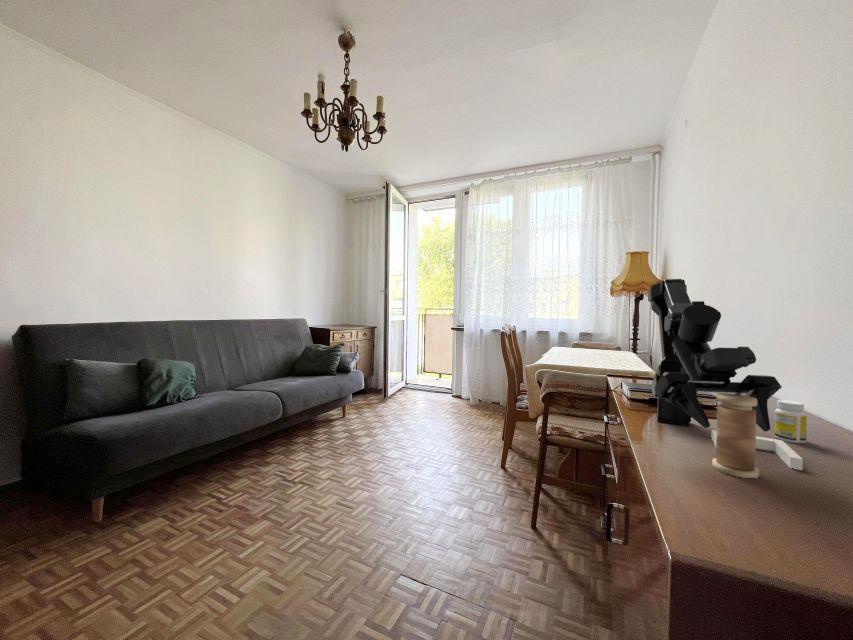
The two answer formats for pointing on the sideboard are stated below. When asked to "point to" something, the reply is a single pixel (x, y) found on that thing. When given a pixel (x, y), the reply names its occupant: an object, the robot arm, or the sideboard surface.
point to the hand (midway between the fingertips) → (737, 428)
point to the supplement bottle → (790, 421)
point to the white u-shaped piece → (776, 446)
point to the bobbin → (736, 436)
